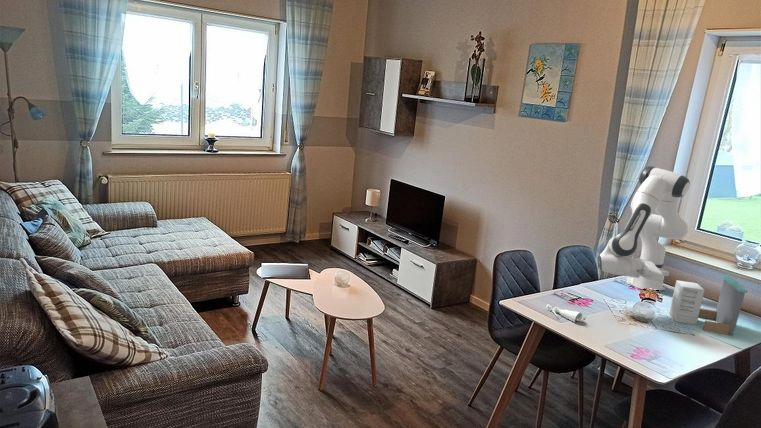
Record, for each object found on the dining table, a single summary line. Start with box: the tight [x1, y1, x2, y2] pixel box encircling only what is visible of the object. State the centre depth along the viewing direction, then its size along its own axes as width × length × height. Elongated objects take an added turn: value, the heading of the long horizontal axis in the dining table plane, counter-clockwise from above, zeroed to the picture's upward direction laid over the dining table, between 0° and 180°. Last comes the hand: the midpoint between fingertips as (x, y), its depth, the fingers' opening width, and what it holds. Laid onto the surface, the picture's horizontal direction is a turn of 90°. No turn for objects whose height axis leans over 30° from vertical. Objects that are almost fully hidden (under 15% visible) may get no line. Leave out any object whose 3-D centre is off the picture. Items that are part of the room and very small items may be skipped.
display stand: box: [698, 274, 748, 336], centre depth 240 cm, size 19×12×21 cm, turn 166°
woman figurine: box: [545, 304, 587, 323], centre depth 234 cm, size 12×4×18 cm
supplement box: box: [668, 279, 706, 326], centre depth 243 cm, size 10×9×17 cm
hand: (668, 273), depth 242 cm, fingers closed
